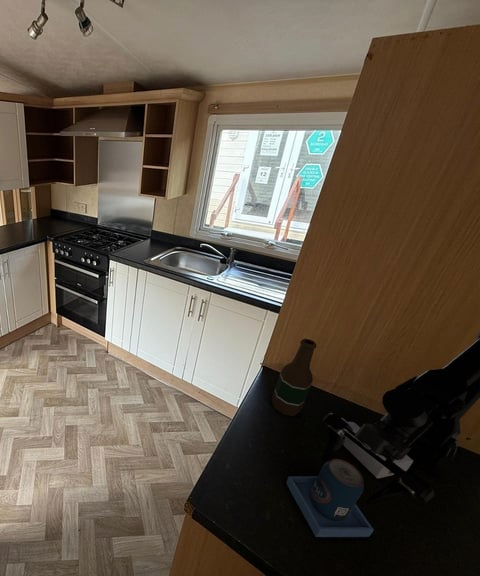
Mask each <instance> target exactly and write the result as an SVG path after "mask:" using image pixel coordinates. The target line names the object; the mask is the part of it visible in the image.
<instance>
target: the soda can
mask: <svg viewBox="0 0 480 576" xmlns="http://www.w3.org/2000/svg"><path fill="white" fill-rule="evenodd" d="M317 476H318V477H317V479H316V481H315V483H314V485H313V487H312V488H311V490H310V499H311V502H312V504H313V506H314V508H315V509H316V510H317V511H318V512H319V513H320V514H321V515H322V516H324V517H325V518H327V519H330V520H335V521H342V520H344V519H346V518H347V516H348V515H349V513H350V512H351V510H352V508H353V507H354V505H355V504H356V503H357V502H358V501H359V499H360V498H361V496H362V494H363V492H364V490H365V485H364V484H365V483H364V477H363V474H362V472H361V471H360V470H359V469H358V468H357V467H356V466H355V465H354V464H352V463H350V462H348V461H346V460H344V459H340V458H333V459H330V460H328V461H326V462H325V463H323V465H322V467H321V469H320V471H319V472H318V475H317ZM356 505H357V504H356Z"/></svg>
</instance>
